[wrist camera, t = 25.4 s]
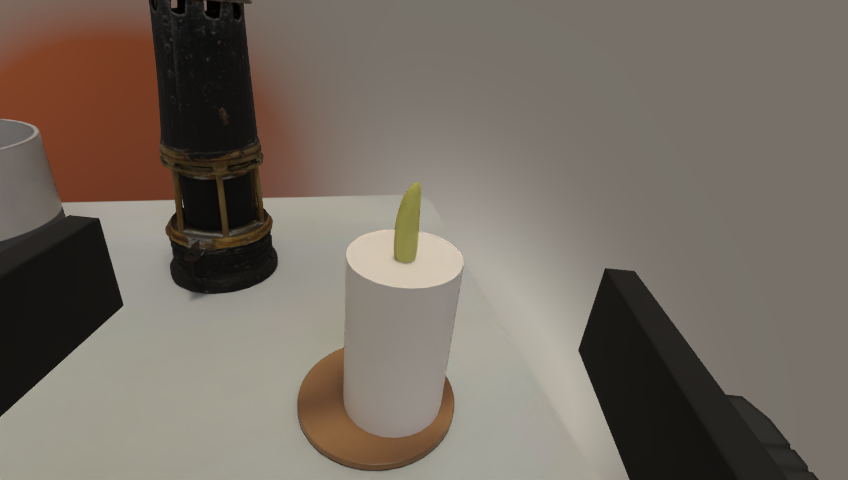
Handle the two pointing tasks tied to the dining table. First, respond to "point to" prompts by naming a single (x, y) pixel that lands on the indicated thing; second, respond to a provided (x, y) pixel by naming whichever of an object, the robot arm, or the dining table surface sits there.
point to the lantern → (211, 146)
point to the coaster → (344, 438)
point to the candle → (398, 324)
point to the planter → (25, 184)
